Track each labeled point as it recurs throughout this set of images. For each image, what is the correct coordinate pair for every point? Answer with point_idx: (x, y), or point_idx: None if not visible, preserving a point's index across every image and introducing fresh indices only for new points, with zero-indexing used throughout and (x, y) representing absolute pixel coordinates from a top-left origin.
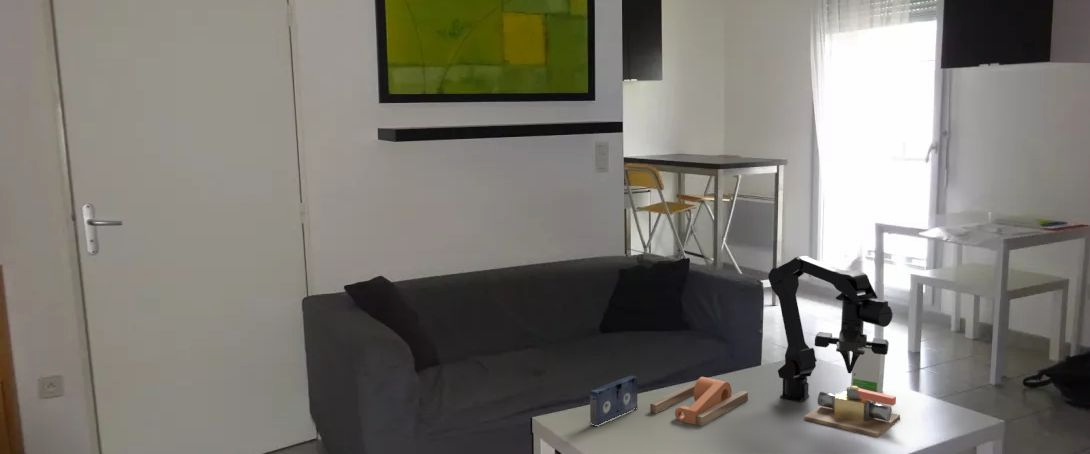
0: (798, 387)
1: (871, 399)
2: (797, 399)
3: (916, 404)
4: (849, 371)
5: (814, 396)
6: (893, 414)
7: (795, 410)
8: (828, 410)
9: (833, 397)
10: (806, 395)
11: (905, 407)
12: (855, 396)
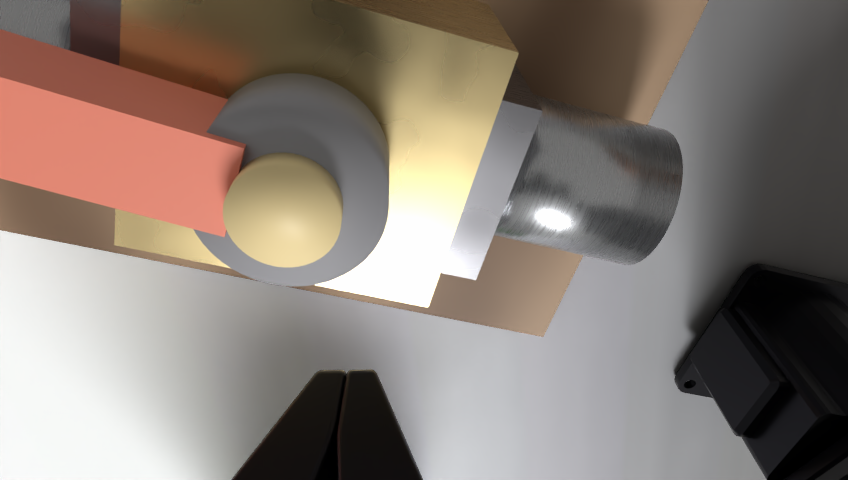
0: (814, 359)
1: (36, 49)
2: (775, 274)
3: (18, 472)
4: (344, 390)
5: (635, 388)
6: (26, 216)
7: (815, 68)
8: None
9: (531, 103)
10: (709, 341)
11: (54, 412)
12: (260, 87)
